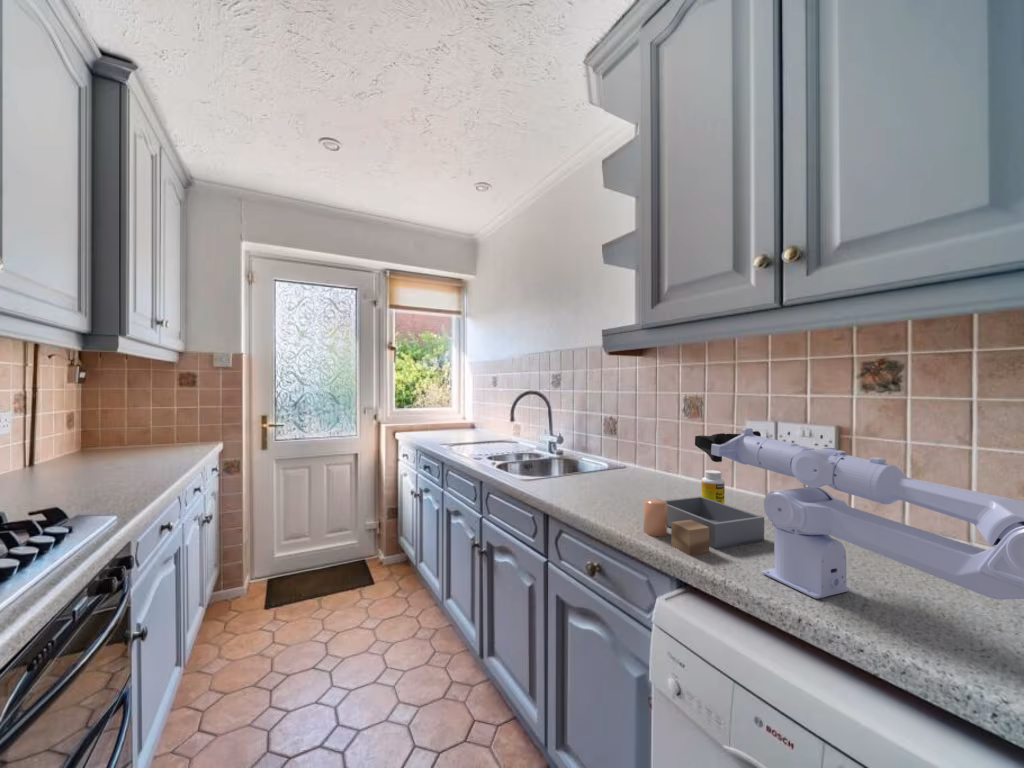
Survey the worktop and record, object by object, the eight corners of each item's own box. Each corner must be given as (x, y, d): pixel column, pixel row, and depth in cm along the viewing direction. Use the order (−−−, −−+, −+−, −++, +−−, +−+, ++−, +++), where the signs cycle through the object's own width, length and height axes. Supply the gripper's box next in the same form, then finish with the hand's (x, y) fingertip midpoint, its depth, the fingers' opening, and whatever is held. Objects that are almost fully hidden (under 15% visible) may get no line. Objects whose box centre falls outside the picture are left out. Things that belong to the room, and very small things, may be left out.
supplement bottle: (717, 514, 106) (717, 474, 106) (697, 508, 111) (697, 470, 111) (728, 510, 109) (728, 472, 109) (708, 505, 114) (708, 468, 114)
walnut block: (709, 552, 82) (709, 527, 82) (689, 555, 80) (689, 530, 80) (690, 543, 86) (690, 519, 87) (671, 546, 85) (671, 522, 85)
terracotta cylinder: (672, 535, 91) (672, 503, 91) (653, 537, 89) (653, 505, 89) (657, 527, 96) (657, 497, 96) (639, 530, 94) (639, 499, 94)
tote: (764, 540, 88) (764, 517, 88) (715, 549, 83) (715, 524, 83) (700, 516, 104) (701, 496, 104) (657, 521, 100) (657, 501, 100)
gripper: (798, 430, 77) (736, 419, 90) (740, 434, 72) (684, 422, 85) (796, 467, 78) (735, 451, 91) (738, 473, 73) (682, 455, 86)
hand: (710, 439), depth 88 cm, fingers open, 7 cm apart
